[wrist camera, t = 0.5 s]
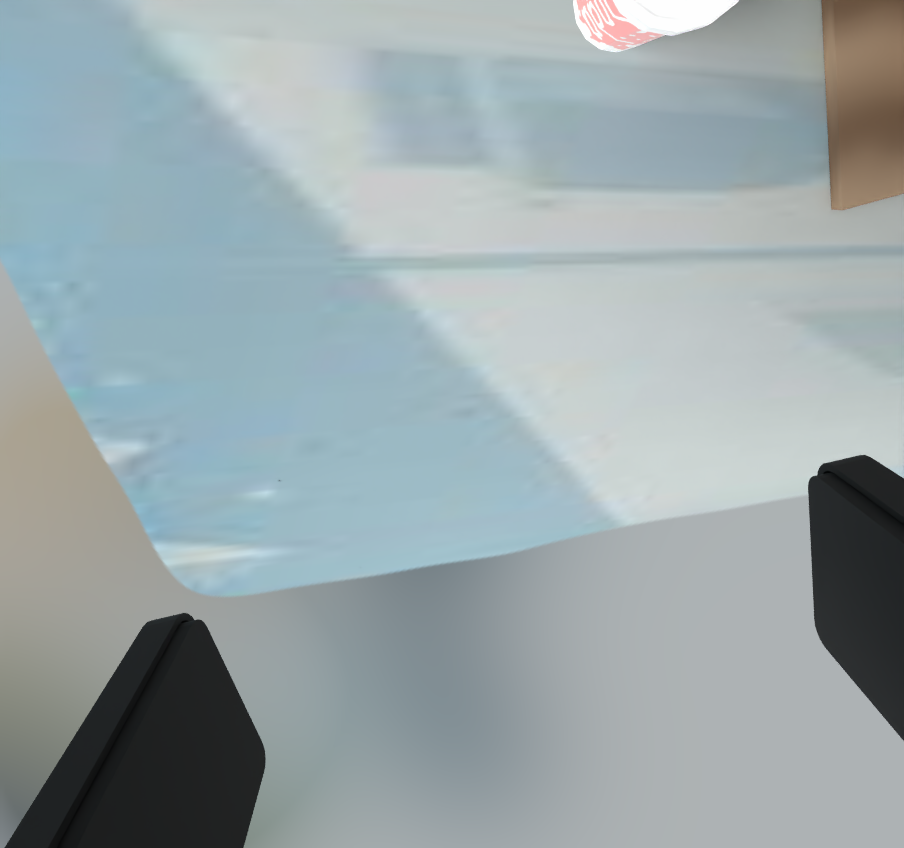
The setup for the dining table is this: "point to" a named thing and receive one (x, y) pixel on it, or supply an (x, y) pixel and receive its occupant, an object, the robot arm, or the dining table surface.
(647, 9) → the beverage cup
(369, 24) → the dining table surface
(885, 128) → the walnut stand
